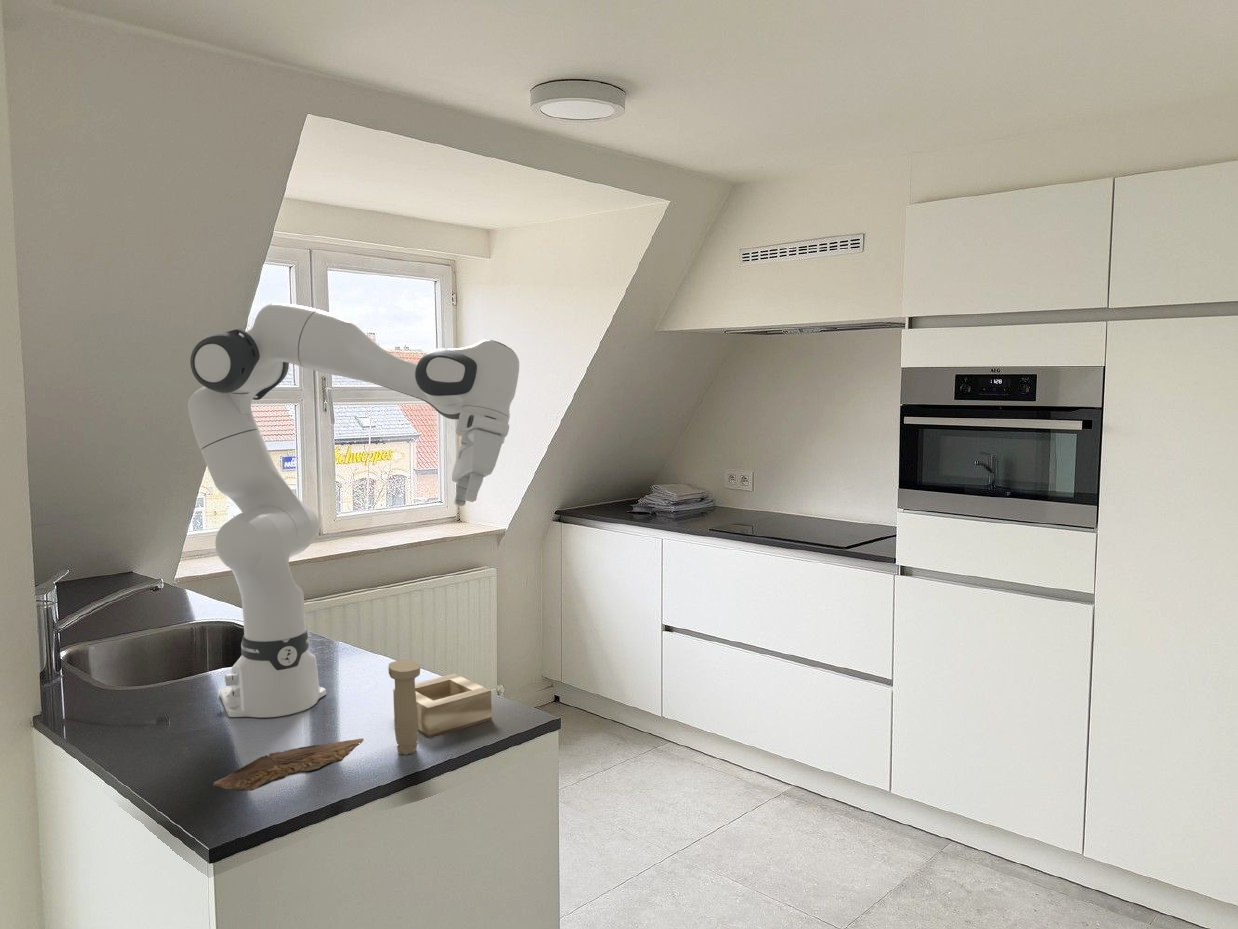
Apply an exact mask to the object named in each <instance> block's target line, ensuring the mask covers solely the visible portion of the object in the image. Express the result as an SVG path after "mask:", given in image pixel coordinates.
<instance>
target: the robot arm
mask: <svg viewBox="0 0 1238 929" xmlns="http://www.w3.org/2000/svg"><path fill="white" fill-rule="evenodd" d="M290 364H292V365H295V366H297V367H298V366H299V367H302V368H305V369H309V370H312V371H315V372H318V373H319V372H320V373H324V374H328V375H332V376H333V375H334V376H338V377H343V378H348V379H353V380H356V381H362V382H366V383H370V384H374V385H377V386H379V387H380V386H381V387H383V388H386V389H389V390H391V391H395V392H398V393H401V394H404V395H407V396H410V397H412V398H416V399H419V400H420V401H423V402H425V403H427V404H428V405H429V406H431V407H432V408H433V409H434V410H435V411H436V412H437V413H438V414H440V415H441V416H443V417H444V418H447V419H448V420H449V419H450V420H457V425H456V428H455V433H456V435H457V436H460V437H461V439H460V446H459V449H458V451H457V455H456V459H455V461H454V462H455V463H454V466H453V469H452V473H451V481H452V482H454V483H456V485H455V497H454V505H456V506H458V507H463V506H466V502H470V503H473V502H475V501H477V499H478V494H479V491H480V489H481V486H482V484H483V482H484V478H486V477H488V476H489V475H492V473H493V471H494V470H495V467H496V465H497V462H498V458H499V455H500V452H501V448H502V445H503V444H504V443H505V439H506V437H507V436H508V435H509V430H510V424H509V422H510V415H511V414H510V407H511V405H512V402H513V400H514V398H515V396H516V390H517V386H518V380H519V375H520V374H519V373H520V360H519V357H518V355H517V354H516V352H515V351H514V350H513V349H512V347H509V346H508V345H506V344H504V343H501V342H499V341H496V340H492V339H482V340H481V341H479V342H477V343H475V344H473V345H469V346H465V347H459V348H436V349H432V350H430V351H427V353H425V354H424V355H423V356H422V357H421V358H420V359H419V360H418V362H417V363H416V362H413V361H410V360H406V359H405V358H401V357H398V356H396V355H393V354H391V353H389V351H386V350H385V349H384V348H382V347H381V346H379V345H378V344H377V343H375V342H374V341H373V340H372V339H371V338H370V337H369V335H367V334H366V333H365V332H364V331H362V330H361V329H360V327H358V326H357V325H356V324H354V323H352V322H350V321H349V320H346V319H345V318H342V317H341V316H339V315H336V314H333V313H330V312H328V311H324V310H321V309H316V308H313V307H308V306H304V305H298V304H293V303H291V304H290V303H283V302H282V303H280V302H279V303H278V302H273V303H272V302H271V303H269V304H267V305H265V306H264V307H262V308H261V309H260V310H259V312H258V313H257V315H256V317H255V319H254V323H253V325H252V327H251V329H249V330H247V331H246V330H244V329H242V328H234V329H231V330H227V331H224V332H220V333H219V332H218V333H216V334H213V335H210V336H208V337H206V338H204V339H202V340H200V341H199V342H198V343H197V344H196V345H195V346H194V348H193V350H192V351H191V355H190V369H191V372H192V374H193V377H194V378H195V379H196V381H197V382H198V383H199V384H201V385H202V387H200V388H198V389H197V390H195V391H194V392H193V394H191V396H190V397H189V399H188V402H187V409H188V415H189V419H190V423H191V427H192V430H193V434H194V438H195V440H196V443H197V445H198V448H199V450H200V452H201V456H202V457H203V460H204V461H205V465H206V467H207V469H208V471H209V474H210V476H211V478H212V480H213V483H214V486H215V487H216V489H217V490H218V491H219V492H220V493H222V494H223V495H225V496H227V497H228V498H230V499H231V501H232V502H233V503H234V504H235V505H236V506H237V507H238V508H239V510H240V511H241V512H240V513H238V514H236V515H235V516H233V517H232V518H231V519H229V520H228V521H226V523H224V524H223V525H222V526H221V527H220V528H219V530H218V532H217V534H216V535H215V536H216V537H215V542H214V543H215V551H216V553H217V554H216V555H217V556H218V559H219V560H221V562H222V563H223V564H224V565H225V566H226V567H228V569H230V570H231V572H232V575H233V576H234V579H235V581H236V583H237V586H238V590H239V594H240V598H241V606H242V618H243V633H244V634H243V635H242V637H241V638H242V640H241V644H240V648H241V650H240V654H241V655H240V657H239V658H238V659H237V661H236V662H235V663H234V664H233V666H232V665H231V672H230V673H226V674H225V675H224V680H225V681H224V682H225V688H222V689H221V690H220V693H219V696H220V699H221V701H222V704H223V707H224V709H225V712H226V714H227V717H229V718H242V717H250V718H275V717H277V718H278V717H284V716H288V715H292V714H296V713H300V712H302V711H305V710H307V709H310V708H311V707H313V706H315V704H317V703H318V701H319V699H321V698H323V697H324V696H326V695H327V690H326V688H325V687H323V686H320V682H319V681H320V680H319V673H318V665H317V663H318V662H317V658H316V655H314V653H311V652H310V651H309V643H310V638H309V637H310V636H309V633H308V630H307V628H306V618H305V597H304V596H305V594H304V592H303V588H302V587H300V586H299V585H298V584H297V583H296V581H295V579H294V577H293V574H292V571H291V570H292V569H291V568H290V558H292V557H295V556H297V555H299V554H301V553H302V552H305V550H306V549H307V548H308V547H310V545H311V544H313V542H314V541H315V540H316V538H317V537H318V534H319V531H320V522H319V518H318V516H317V514H316V512H315V511H314V509H312V508H311V507H310V506H309V505H308V504H306V503H305V502H303V501H302V500H300V498H299V497H298V496H297V495H296V494H295V493H294V492H293V490H292V489H291V487H290V486H289V485H288V483H287V482H286V480H285V479H284V478H283V476H282V475H281V473H280V472H279V470H278V468H277V466H276V465H275V463H274V461H273V459H272V456H271V455H270V452H269V449H268V448H267V445H266V443H265V441H264V438H263V436H262V433H261V431H260V428H259V426H258V425H257V422H256V420H255V417H254V415H253V412H252V401H253V400H254V401H259V400H261V399H263V398H264V397H265V396H266V395H267V394H268V393H269V392H270V391H271V390H273V389H275V388H276V387H277V386H279V384H281V383H282V382H283V381H284V379H285V378H286V377H287V375H288V373H289V367H290Z"/></svg>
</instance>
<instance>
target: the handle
mask: <svg viewBox="0 0 1238 929" xmlns="http://www.w3.org/2000/svg"><path fill="white" fill-rule="evenodd" d="M387 666H388V675H389V677H390V678H391V679H393V680H394V689H395V710H394V709H393V718H394V733H395V740H396V744H397V746H396V749H397V753H398V754H399V755H404V756H407V755H410V754H412V753H413V754H415V752H416V750H417V749H418V736H419V733H418V713H417V702H416V692H415V683H416V682H415V681H416V678H417V677H418V676H420V674H421V664H420V663H419V662H416V661H413V660H411V659H402V660H401V659H400V660H396V661H392V662H390V663H388V665H387Z"/></svg>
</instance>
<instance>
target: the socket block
mask: <svg viewBox="0 0 1238 929" xmlns="http://www.w3.org/2000/svg"><path fill="white" fill-rule="evenodd" d="M392 691H393V711H394V710H395V688H393V689H392ZM415 692H416V702H417V713H418V732H419V733H418V734H420V735H421V736H423V735H424V736H423V737H426V738H427V739H428V738H429V739H433V738H435V737H436V736H437V737H440V736H444V735H447V734H450V733H453V732H456V730H457V731H459V730H463V729H466V728H470V727H472V726H476V725H480V724H483V723H486V722H489V721H492V719H493V714H492V711H493V710H492V690H491V689H488V688H486V687H484V686H482V685H480V684H478V683H476V682H474V681H472V680H469V679H467V678H465V677H463V676H462V675H461V676H460V675H458V674H456V673H451V674H447V675H444V676H439V677H436V678H435V677H434V678H430V679H428V680H424V681H419V682H417V683H416V682H415ZM446 733H447V734H446Z"/></svg>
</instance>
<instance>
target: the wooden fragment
mask: <svg viewBox="0 0 1238 929" xmlns="http://www.w3.org/2000/svg"><path fill="white" fill-rule="evenodd" d="M363 741H364V738H357V739H351V740H350V739H349V740H343V741H335V742H332V743H324V744H316V745H315V744H314V745H307V746H301V747H296V748H292V749H287V750H283V751H277V752H271V753H269V754H268V755H264V756H260V757H258V758H257V759H255V760H253V761H251V762H250V763H248V764H246V765H245V766H244V765H243V766H242V767H241V768H239V769H237V770H235V771H234V772H231V773H230V774H228V775H226V776H224V777H222V778H219V779H217V780H216V781H214V782H213V784H212V786H214V787H219V788H221V789H225V790H237V791H239V790H240V791H245V790H246V791H248V790H249V791H254V790H256V789H257V788H259V787H260V786H262V785H265V784H268V783H270V782H272V781H274V780H279V779H283V778H286V777H287V776H289V775H295V774H297V773H306V772H309V771H311V772H312V771H315V770H318V769H319V770H320V769H321V768H322V767H324V766H326V765H328V764H330V763H334V762H335V763H336V762H341V761H342V760H344V759H345V758H346V757H347V756H348V755H349V754H350V753H351V752H352V751H353V750H354V749H355V748H356V747H357V746H358V745H360V744H362V743H363ZM359 743H360V744H359ZM356 745H357V746H356ZM355 746H356V747H355ZM354 747H355V748H354ZM350 751H351V752H350ZM345 756H346V757H345ZM344 757H345V758H344ZM343 758H344V759H343Z"/></svg>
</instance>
